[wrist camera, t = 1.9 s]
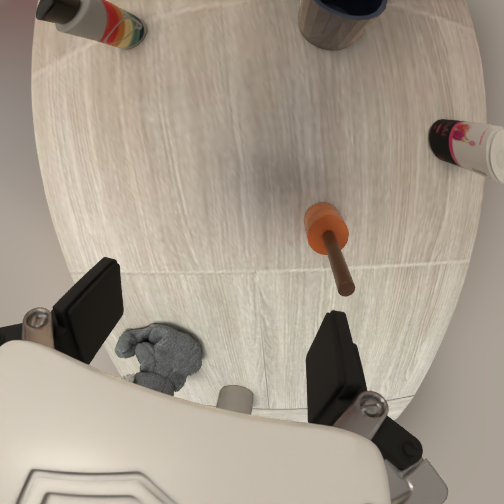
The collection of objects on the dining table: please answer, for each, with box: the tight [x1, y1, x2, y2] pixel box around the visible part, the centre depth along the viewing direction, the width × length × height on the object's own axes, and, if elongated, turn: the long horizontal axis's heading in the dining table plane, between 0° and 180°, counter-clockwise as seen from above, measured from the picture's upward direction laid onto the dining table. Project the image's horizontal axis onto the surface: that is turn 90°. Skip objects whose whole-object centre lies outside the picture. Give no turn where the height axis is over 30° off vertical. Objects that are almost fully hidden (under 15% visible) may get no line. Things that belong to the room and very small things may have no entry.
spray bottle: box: [36, 0, 147, 49], centre depth 19 cm, size 6×6×20 cm
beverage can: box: [429, 119, 504, 183], centre depth 24 cm, size 7×6×15 cm
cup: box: [216, 385, 253, 415], centre depth 57 cm, size 8×8×10 cm
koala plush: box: [115, 324, 202, 396], centre depth 47 cm, size 17×18×20 cm
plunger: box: [304, 202, 355, 296], centre depth 31 cm, size 5×5×18 cm
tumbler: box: [299, 0, 387, 50], centre depth 20 cm, size 8×8×13 cm
